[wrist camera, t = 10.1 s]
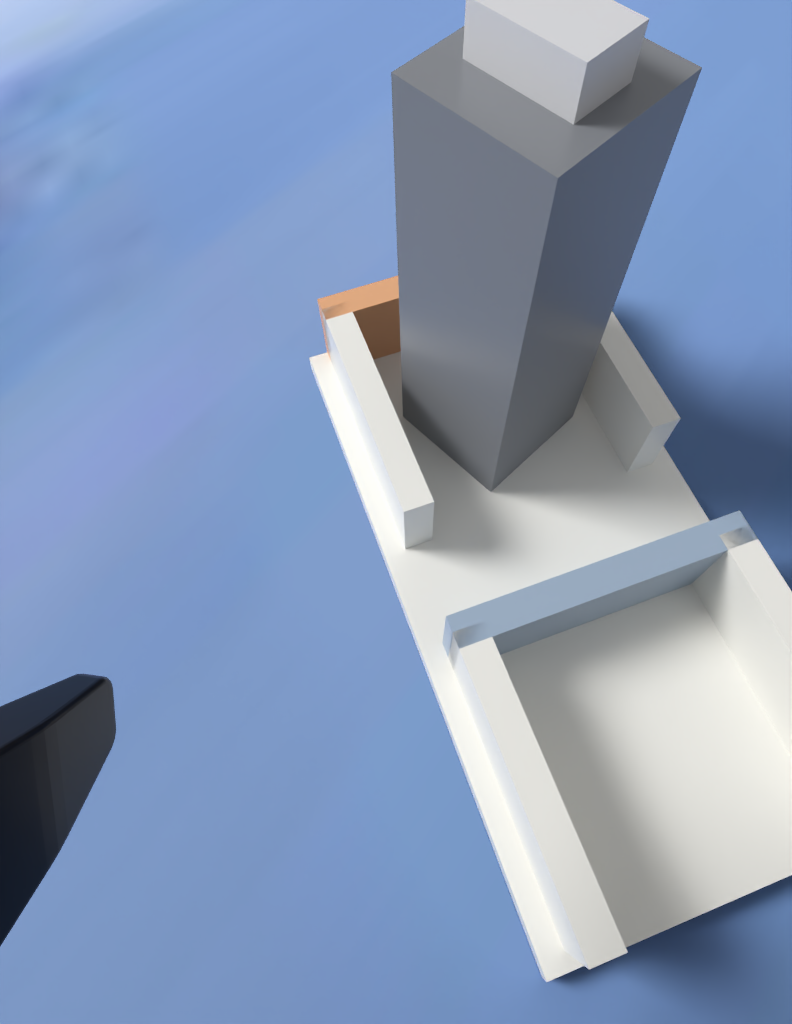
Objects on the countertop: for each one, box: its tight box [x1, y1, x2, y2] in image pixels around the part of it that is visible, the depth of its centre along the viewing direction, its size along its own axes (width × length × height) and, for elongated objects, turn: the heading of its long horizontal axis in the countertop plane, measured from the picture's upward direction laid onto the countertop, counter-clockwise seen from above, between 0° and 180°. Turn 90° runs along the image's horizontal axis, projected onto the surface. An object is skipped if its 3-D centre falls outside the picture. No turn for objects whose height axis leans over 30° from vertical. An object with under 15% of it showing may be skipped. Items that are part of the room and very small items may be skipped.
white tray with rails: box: [309, 276, 792, 982], centre depth 23 cm, size 22×11×4 cm, turn 20°
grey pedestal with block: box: [391, 0, 702, 492], centre depth 20 cm, size 4×4×14 cm
